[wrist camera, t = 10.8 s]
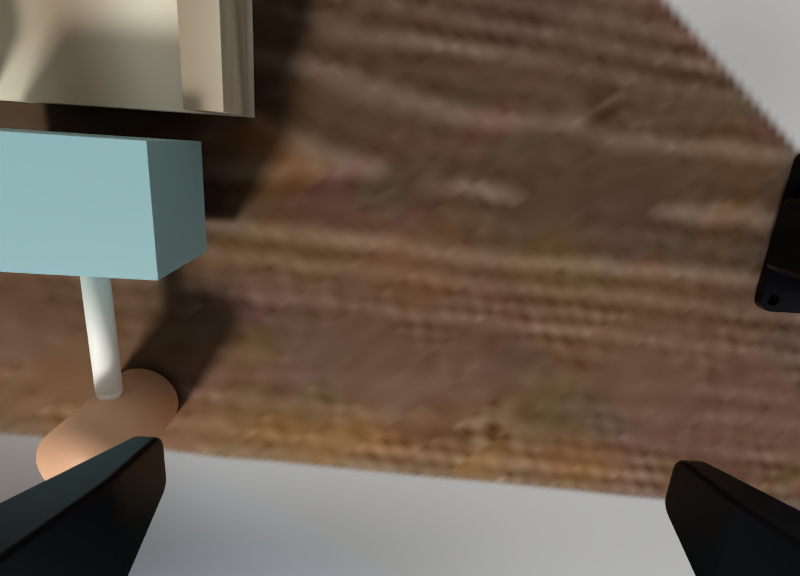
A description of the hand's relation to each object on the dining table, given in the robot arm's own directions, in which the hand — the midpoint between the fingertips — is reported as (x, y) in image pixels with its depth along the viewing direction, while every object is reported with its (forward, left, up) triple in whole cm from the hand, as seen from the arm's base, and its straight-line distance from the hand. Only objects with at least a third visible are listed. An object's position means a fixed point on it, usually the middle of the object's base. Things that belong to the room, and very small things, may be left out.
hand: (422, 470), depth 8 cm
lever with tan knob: (+11, +1, -12) cm, 16 cm away
